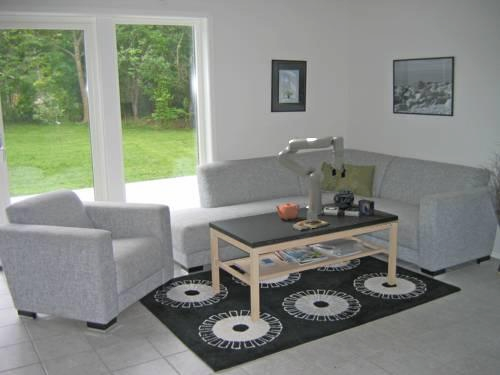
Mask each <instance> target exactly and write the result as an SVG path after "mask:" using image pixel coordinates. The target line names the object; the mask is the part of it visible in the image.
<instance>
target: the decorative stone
mask: <svg viewBox="0 0 500 375" xmlns="http://www.w3.org/2000/svg"><path fill="white" fill-rule="evenodd" d="M333 202H334V205H335V206H336V207H337V208H340V209H348V208H351V207H352V205H354V202H355V196H354V193H353V192H352V191H351V190H349V189H346V188H340V189H337V191H336V192H334V194H333Z"/></svg>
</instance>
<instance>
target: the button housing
mask: <svg viewBox="0 0 500 375" xmlns="http://www.w3.org/2000/svg"><path fill="white" fill-rule="evenodd" d="M293 228H295V229H298V230H302V229H306V228H308V225H306V224H304V226H297V224H296V223H295V224H292V229H293ZM295 229H294V230H295ZM308 229H309V228H308ZM298 230H297V231H298ZM306 230H307V229H306Z"/></svg>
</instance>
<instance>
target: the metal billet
mask: <svg viewBox="0 0 500 375" xmlns="http://www.w3.org/2000/svg"><path fill="white" fill-rule="evenodd" d="M318 216H319V215H318V212H317V211H314V210H313V211H309V212H307V211H306V220H307V222H308V223H311V224H312V223H315V222H318V220H319V219H318Z"/></svg>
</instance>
